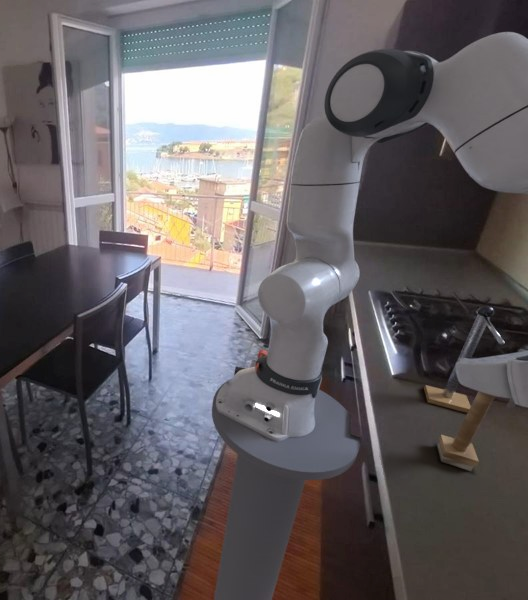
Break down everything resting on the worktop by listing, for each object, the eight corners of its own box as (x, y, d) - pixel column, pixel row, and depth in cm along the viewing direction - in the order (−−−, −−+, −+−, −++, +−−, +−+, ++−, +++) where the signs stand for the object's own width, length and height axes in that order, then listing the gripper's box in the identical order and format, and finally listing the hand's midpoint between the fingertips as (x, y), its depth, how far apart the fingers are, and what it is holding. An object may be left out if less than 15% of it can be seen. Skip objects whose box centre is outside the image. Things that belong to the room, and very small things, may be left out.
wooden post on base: (439, 461, 71) (475, 391, 63) (435, 444, 75) (468, 376, 67) (483, 476, 68) (525, 403, 60) (476, 457, 72) (515, 387, 64)
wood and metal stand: (433, 427, 79) (479, 327, 69) (423, 388, 91) (461, 298, 81) (481, 441, 76) (537, 337, 65) (464, 399, 88) (509, 305, 77)
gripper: (674, 338, 46) (556, 329, 60) (503, 363, 48) (427, 349, 62) (683, 386, 46) (563, 366, 60) (512, 409, 48) (434, 384, 62)
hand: (493, 357), depth 61 cm, fingers open, 8 cm apart
